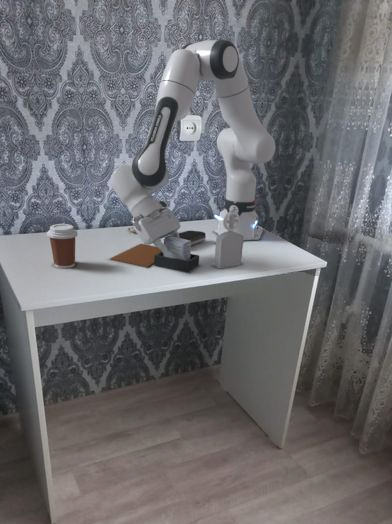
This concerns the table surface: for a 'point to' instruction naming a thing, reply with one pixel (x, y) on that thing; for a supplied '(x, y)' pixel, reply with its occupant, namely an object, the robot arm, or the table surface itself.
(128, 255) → the desk pad
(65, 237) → the coffee cup
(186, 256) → the medicine box
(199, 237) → the black sponge
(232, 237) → the gravestone
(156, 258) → the frame
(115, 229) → the table surface
